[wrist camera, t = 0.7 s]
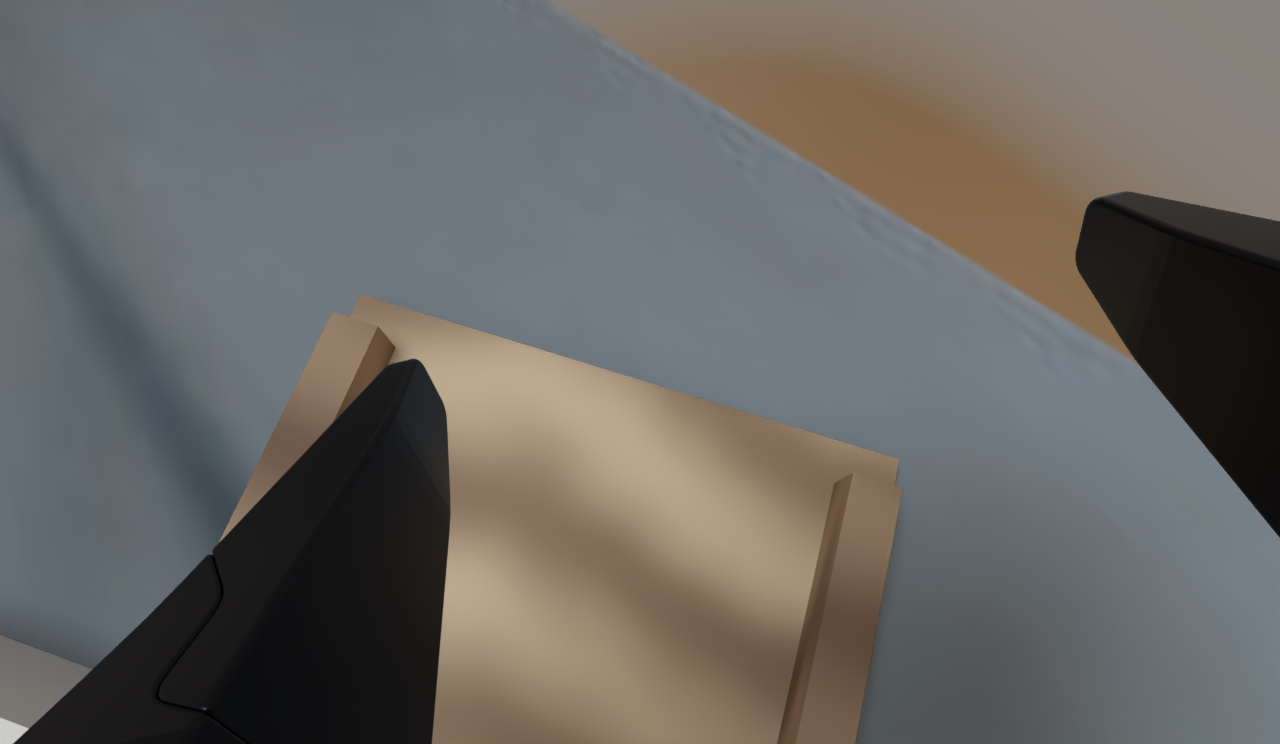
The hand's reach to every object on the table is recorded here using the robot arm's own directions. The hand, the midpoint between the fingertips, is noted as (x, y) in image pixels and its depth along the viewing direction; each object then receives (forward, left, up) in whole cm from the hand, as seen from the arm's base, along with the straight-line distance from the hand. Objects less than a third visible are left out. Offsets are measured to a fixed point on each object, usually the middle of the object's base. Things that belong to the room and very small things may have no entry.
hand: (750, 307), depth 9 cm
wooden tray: (-3, +3, -16) cm, 17 cm away
